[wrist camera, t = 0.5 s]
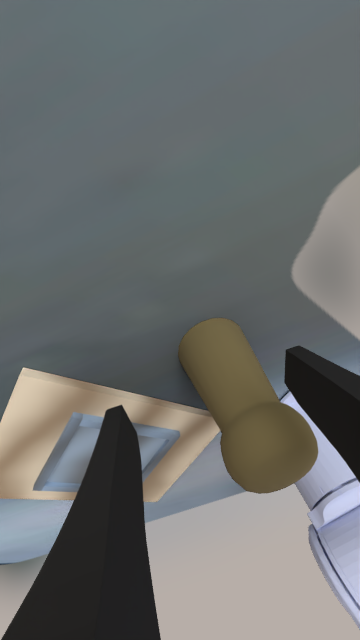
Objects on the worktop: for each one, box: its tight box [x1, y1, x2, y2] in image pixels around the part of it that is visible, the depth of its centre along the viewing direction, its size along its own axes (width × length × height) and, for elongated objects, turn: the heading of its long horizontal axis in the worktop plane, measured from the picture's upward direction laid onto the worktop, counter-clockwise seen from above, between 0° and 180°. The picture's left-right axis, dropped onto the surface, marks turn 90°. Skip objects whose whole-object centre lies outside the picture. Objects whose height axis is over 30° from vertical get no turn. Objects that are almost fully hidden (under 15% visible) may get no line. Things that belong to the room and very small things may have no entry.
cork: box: [178, 318, 318, 493], centre depth 17 cm, size 6×6×11 cm
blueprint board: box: [0, 367, 220, 502], centre depth 25 cm, size 20×16×1 cm
